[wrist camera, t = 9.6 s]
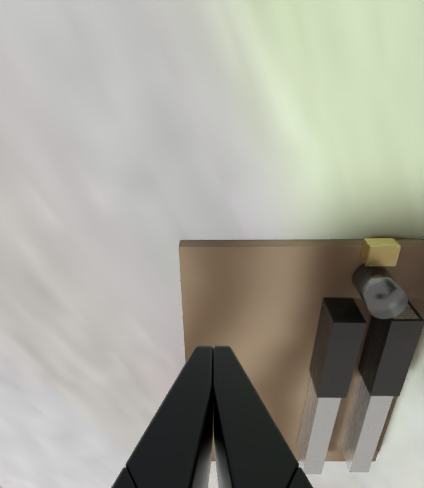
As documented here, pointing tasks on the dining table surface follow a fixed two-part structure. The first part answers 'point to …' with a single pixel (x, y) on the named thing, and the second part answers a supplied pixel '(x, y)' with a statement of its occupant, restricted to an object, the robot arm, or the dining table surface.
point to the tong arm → (329, 377)
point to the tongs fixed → (379, 350)
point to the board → (281, 313)
